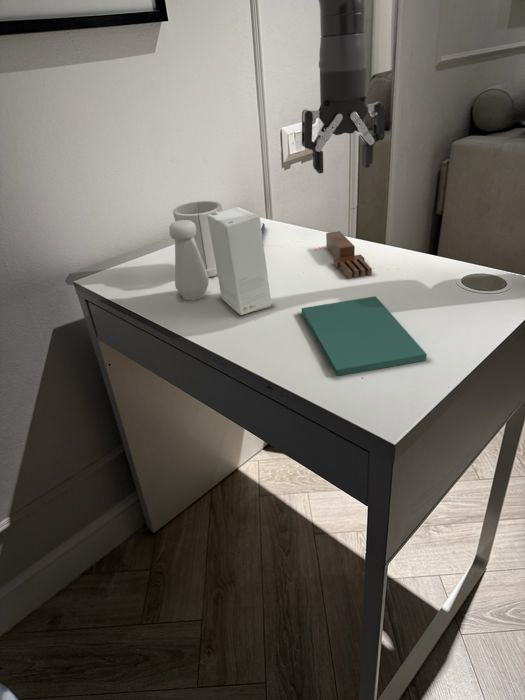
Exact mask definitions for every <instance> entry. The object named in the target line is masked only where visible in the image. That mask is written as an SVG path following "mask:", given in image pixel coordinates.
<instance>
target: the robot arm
mask: <svg viewBox="0 0 525 700" xmlns="http://www.w3.org/2000/svg"><path fill="white" fill-rule="evenodd" d="M318 3H319V19H320V20H319V21H320V24H319V25H320V42H319V43H320V45H319V57H318V58H319V61H318V68H319V93H320V94H319V96H320V99H319V101H320V105H319V108H318V109H317V110H309V109H303V110H302V112H301V146H302V147H304V148H305V149H307V150H311V152H312V167H313V169H314V170H315V171H316V173H317V174H320V175H321V174H324V151H323V148H324V147H325V145H326V144H327V142H328V141H329V140H330V139H331V138H332V136H333V135H335V136H340V135H343V134H354V133H356V134H357V135H358V137H360V139H361V140H362V141H363V143H362V144H361V166H362V167H363V168H365V169H367V168H370V167H371V164H373V161H374V145H375V143H377V142H379V141H383V140H384V139H385V134H386V133H385V131H386V129H385V104H384V103H383V102H381V101H374V102H372V103H368V104H367V101H366V99H367V98H366V97H367V55H368V54H367V53H368V50H367V40H366V17H367V16H366V14H367V13H366V12H367V11H366V10H367V2H366V0H318ZM368 113H369V116H370V117H372V133H370V131H369V128H368V127H367V126H366V124H365V123H364V122H363V120H364V119H365V118H366V116H367V114H368ZM318 118H319V120H320V121H321V123H322V125H321V127H320V129H319V130H318V132H317V136H316V137H315V138H314V140H313V125H314V124H316V121H317V119H318Z"/></svg>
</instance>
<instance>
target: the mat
mask: <svg viewBox="0 0 525 700" xmlns="http://www.w3.org/2000/svg"><path fill="white" fill-rule="evenodd" d="M301 315H302V317H303V318H304V320H305V321H306V324H307V326H308V328H309V330H310V331H311V333H312V335H313V337H314V338H315V340H316V342H317V344H318V346H319V348H320V349H321V351H322V353H323V355H324V356H325V358H326V360H327V362H328V364H329V366H330V368H331V369H332V371H333V373H334V375H335V376H336V377H340V376H345V375H347V376H348V375H351V374H358V373H363V372H369V371H375V370H381V369H386V368H392V367H397V366H402V365H407V364H408V365H409V364H414V363H420V362H424V361H427V353H426V351H425V350H424V349H423V348H422V347H421V345H419V343H418V342H417V341H416V340H415V339H414V337H412V336H411V334H410V333H409V332H408V331H407V330H406V329H405V327H403V325H402V324H401V323H400V322H399V321H398V320H397V318H395V316H394V315H393V314H392V313H391V311H389V310H388V308H387V307H386V306H385V305H384V304H383V303H382V301H380V300H379V299H378V297H377V296H376V295H375V296H368V297H363V298H356V299H350V300H343V301H338V302H337V301H336V302H332V303H326V304H318V305H313V306H306V307H301Z"/></svg>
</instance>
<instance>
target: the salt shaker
mask: <svg viewBox="0 0 525 700" xmlns="http://www.w3.org/2000/svg"><path fill="white" fill-rule="evenodd" d="M168 228H169V230H168V232H169V236H170V238H171V239H173V240H174V286H175V289H176V290H177V292H178V294H180V295H181V297H182V299H183V300H184V301H193V302H194V301H197V300H201V299H203V298H204V297H205V295H206V293H207V290H208V287H209V283H210V280H209V278H210V277H209V278H208V275H207V273H206V270H205V267H204V264H203V261H202V259H201V256H200V253H199V250H198V247H197V245H196V242H195V239H194V236H195V235H196V226H195V223H193V222H192V221H190V220H180V221H176V222H175V221H173V222H172V223H170V225H169V227H168Z"/></svg>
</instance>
